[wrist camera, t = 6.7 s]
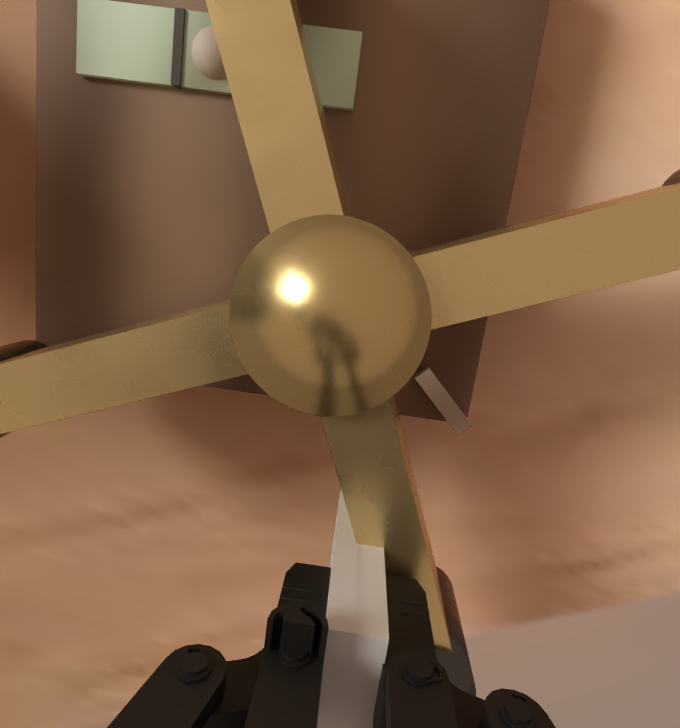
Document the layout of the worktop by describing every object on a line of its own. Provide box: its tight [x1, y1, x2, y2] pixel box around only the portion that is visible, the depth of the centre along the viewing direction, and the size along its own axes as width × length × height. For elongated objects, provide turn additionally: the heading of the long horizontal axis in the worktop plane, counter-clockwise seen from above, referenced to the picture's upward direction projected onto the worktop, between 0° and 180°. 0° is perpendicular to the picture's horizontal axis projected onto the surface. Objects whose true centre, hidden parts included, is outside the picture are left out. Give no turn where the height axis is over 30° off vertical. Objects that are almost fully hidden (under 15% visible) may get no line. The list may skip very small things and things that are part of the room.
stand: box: [36, 0, 550, 435], centre depth 19 cm, size 16×16×4 cm
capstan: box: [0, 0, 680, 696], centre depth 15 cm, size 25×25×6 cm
